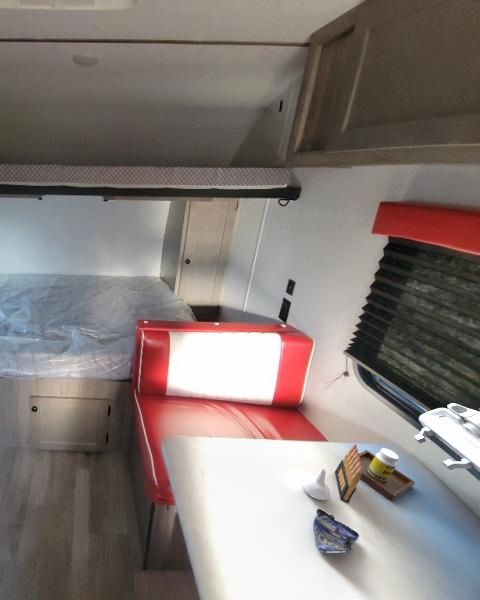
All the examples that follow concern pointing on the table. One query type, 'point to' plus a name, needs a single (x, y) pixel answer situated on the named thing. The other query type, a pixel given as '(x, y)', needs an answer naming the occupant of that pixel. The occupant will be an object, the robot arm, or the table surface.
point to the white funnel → (316, 486)
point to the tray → (387, 488)
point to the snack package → (332, 534)
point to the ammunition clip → (349, 474)
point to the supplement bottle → (383, 464)
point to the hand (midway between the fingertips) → (430, 452)
